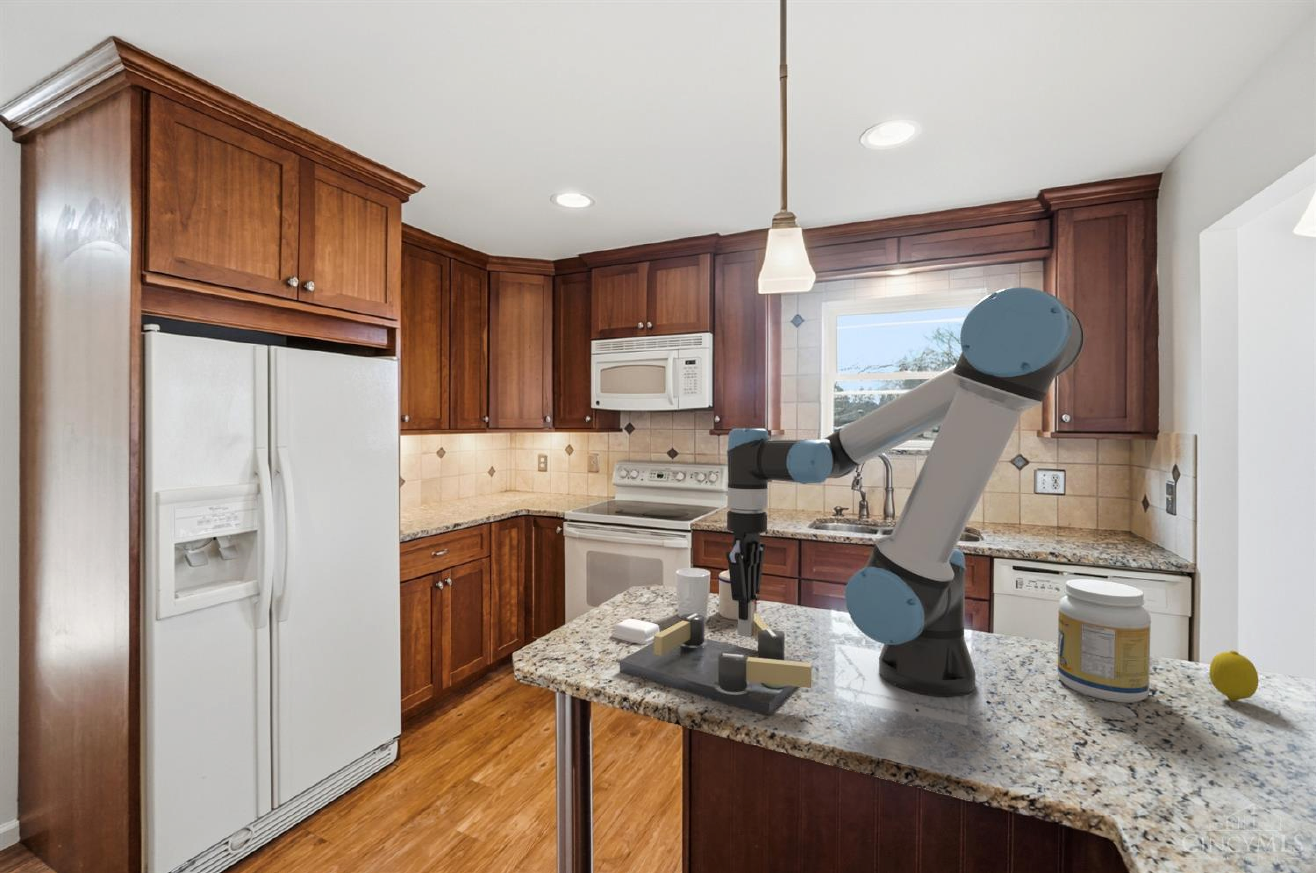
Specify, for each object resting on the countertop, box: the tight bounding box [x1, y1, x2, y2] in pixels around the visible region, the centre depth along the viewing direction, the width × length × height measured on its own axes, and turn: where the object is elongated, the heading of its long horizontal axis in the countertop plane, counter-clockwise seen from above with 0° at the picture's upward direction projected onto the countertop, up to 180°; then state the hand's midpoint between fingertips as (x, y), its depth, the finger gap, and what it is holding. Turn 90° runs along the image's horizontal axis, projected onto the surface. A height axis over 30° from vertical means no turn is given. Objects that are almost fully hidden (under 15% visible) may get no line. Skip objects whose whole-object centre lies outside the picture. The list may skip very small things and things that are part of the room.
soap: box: [611, 618, 661, 645], centre depth 121 cm, size 9×7×3 cm
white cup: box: [675, 567, 711, 619], centre depth 134 cm, size 8×8×10 cm
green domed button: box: [763, 683, 787, 688], centre depth 94 cm, size 4×4×1 cm
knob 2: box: [752, 613, 786, 660], centre depth 108 cm, size 14×5×5 cm, turn 7°
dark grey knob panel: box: [619, 637, 810, 717], centre depth 102 cm, size 28×19×2 cm
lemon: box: [1209, 650, 1259, 702], centre depth 93 cm, size 6×6×8 cm
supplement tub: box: [1056, 578, 1152, 703], centre depth 97 cm, size 12×12×17 cm
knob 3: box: [718, 651, 812, 691], centre depth 92 cm, size 14×5×5 cm, turn 76°
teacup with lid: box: [717, 569, 758, 621], centre depth 136 cm, size 12×9×12 cm
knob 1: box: [653, 613, 706, 656], centre depth 108 cm, size 14×5×5 cm, turn 146°
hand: (745, 635), depth 110 cm, fingers closed
